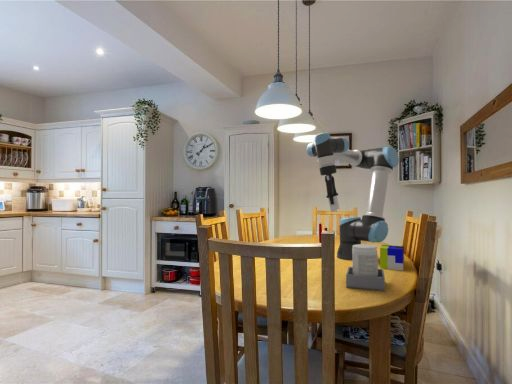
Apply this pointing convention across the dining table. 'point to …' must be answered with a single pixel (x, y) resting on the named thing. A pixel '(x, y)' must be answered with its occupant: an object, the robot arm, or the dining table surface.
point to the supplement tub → (365, 260)
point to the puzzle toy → (392, 257)
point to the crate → (365, 281)
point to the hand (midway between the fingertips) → (335, 210)
